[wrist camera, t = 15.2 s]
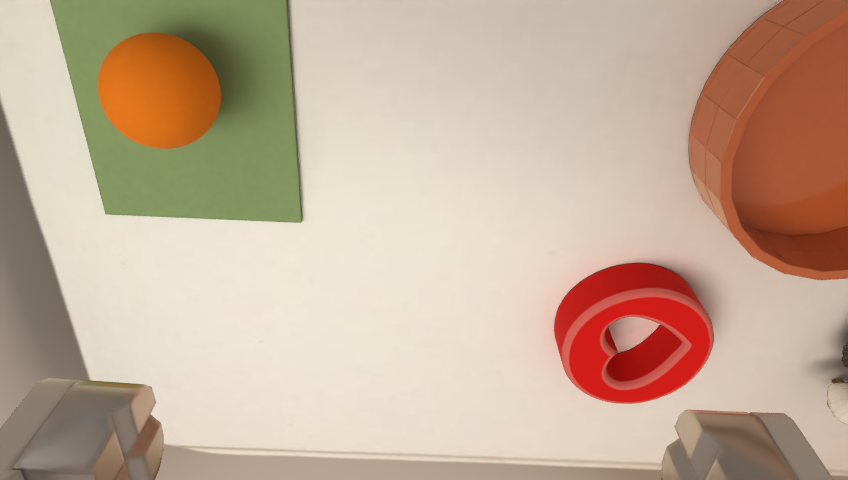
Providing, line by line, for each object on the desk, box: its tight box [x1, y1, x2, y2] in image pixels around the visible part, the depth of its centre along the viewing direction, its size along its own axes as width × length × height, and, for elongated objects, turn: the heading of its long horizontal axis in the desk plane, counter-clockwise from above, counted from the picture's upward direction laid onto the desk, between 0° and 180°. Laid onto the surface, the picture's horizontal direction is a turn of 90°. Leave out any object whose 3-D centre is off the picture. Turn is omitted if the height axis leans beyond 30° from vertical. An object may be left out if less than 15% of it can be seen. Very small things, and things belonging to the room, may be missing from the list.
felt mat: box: [50, 0, 302, 223], centre depth 32 cm, size 18×12×1 cm, turn 177°
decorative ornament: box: [554, 263, 714, 404], centre depth 40 cm, size 10×10×3 cm
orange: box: [97, 33, 221, 149], centre depth 30 cm, size 6×6×6 cm
